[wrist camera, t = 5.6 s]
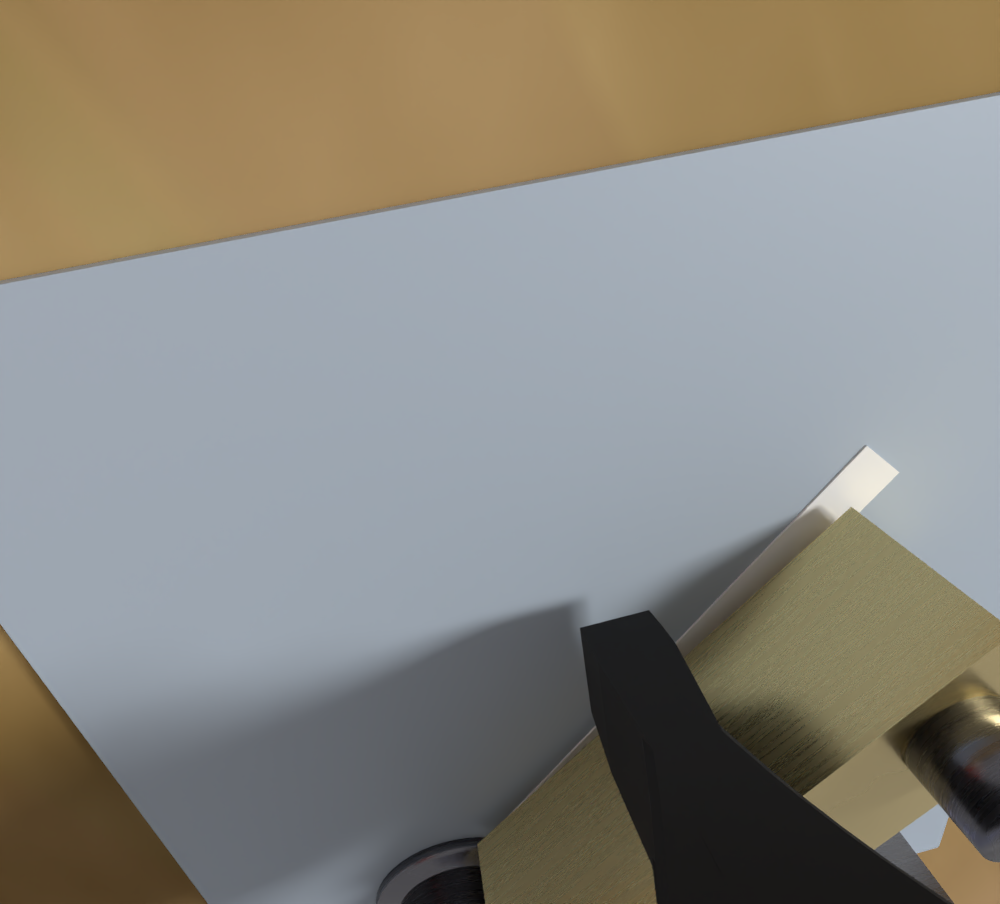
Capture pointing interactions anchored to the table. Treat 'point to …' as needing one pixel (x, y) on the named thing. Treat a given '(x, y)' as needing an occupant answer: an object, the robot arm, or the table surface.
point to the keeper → (909, 862)
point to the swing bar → (802, 720)
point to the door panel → (479, 471)
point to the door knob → (436, 876)
